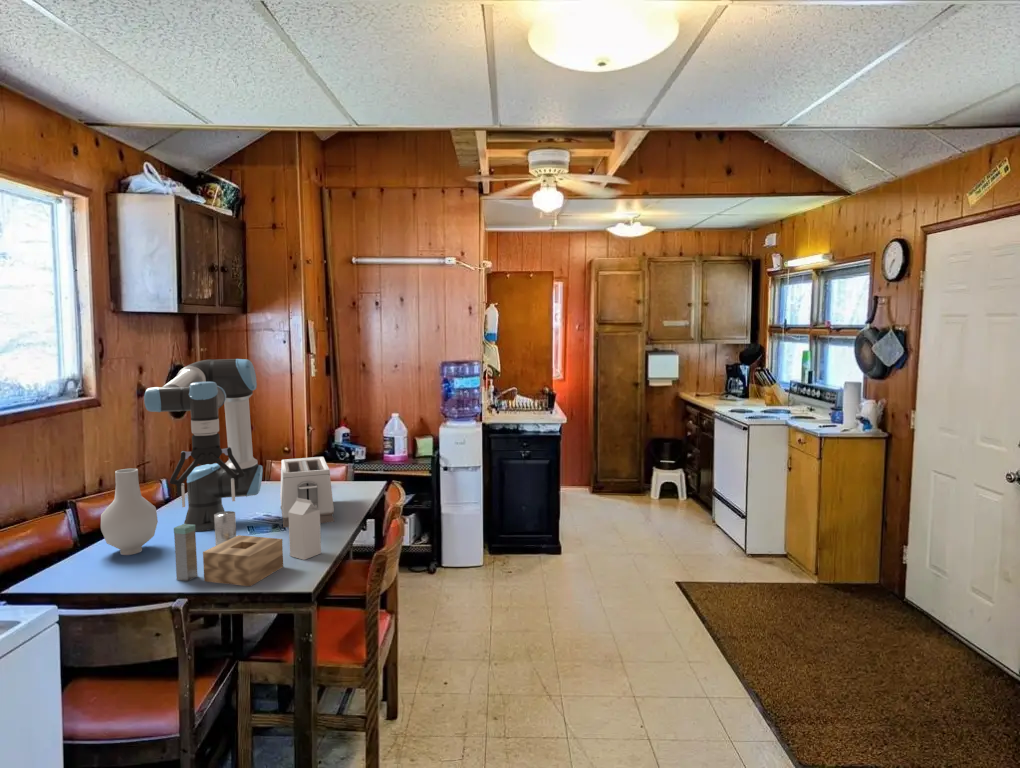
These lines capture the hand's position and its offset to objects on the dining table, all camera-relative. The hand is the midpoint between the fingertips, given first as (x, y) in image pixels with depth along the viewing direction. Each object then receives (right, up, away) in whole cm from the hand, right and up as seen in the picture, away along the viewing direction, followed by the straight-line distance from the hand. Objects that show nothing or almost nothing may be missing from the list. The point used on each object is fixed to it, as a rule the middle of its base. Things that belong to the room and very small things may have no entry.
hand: (209, 503), depth 193 cm
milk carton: (+23, -21, +20) cm, 37 cm away
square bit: (-7, -23, +1) cm, 24 cm away
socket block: (+9, -22, +4) cm, 24 cm away
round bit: (-4, -21, +20) cm, 30 cm away
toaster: (+8, -17, +67) cm, 69 cm away
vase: (-38, -21, +24) cm, 50 cm away
